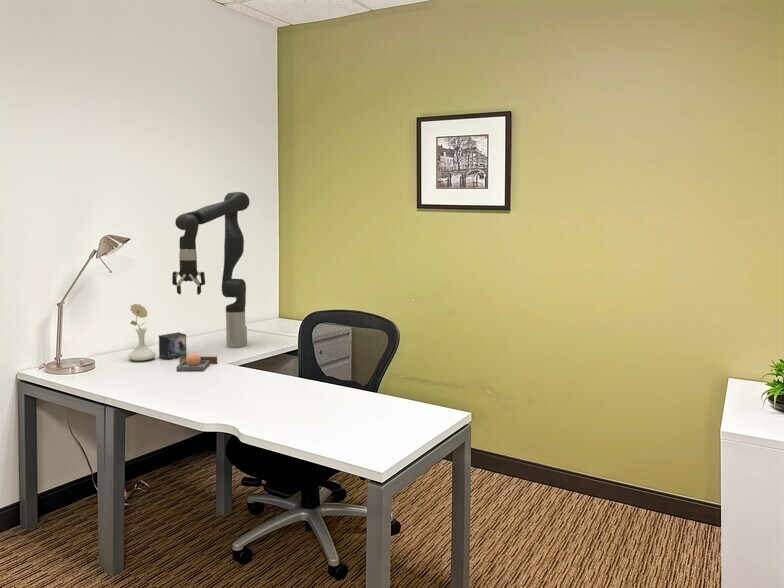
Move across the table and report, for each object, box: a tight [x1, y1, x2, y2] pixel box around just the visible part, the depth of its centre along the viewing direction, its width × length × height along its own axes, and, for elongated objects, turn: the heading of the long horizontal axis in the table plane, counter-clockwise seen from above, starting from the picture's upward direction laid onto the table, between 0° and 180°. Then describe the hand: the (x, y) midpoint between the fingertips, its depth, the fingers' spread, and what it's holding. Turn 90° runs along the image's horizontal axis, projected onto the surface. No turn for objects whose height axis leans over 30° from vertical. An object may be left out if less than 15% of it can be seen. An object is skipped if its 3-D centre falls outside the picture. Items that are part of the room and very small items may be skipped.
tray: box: [175, 360, 211, 372], centre depth 271 cm, size 11×11×2 cm
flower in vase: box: [128, 303, 157, 362], centre depth 284 cm, size 13×11×25 cm
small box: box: [158, 331, 188, 361], centre depth 290 cm, size 11×6×10 cm, turn 143°
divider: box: [179, 355, 218, 365], centre depth 279 cm, size 1×16×3 cm, turn 92°
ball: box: [186, 352, 201, 366], centre depth 271 cm, size 6×6×6 cm
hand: (189, 294), depth 292 cm, fingers open, 8 cm apart
